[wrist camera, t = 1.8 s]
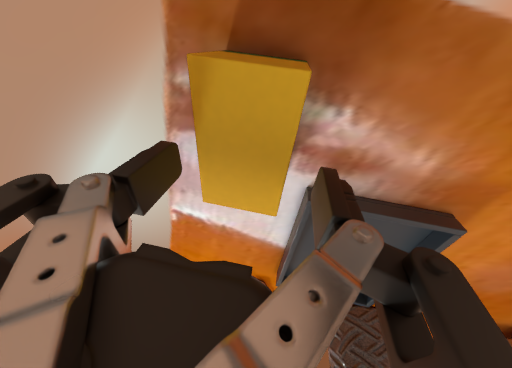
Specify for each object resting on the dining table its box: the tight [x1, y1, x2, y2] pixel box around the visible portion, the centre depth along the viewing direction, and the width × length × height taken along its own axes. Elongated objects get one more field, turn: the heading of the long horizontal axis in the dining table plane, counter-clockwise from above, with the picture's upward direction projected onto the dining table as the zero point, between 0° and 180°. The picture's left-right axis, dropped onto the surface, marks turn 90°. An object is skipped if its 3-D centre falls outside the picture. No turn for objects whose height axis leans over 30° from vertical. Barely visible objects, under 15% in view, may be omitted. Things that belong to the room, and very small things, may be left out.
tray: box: [276, 187, 467, 308], centre depth 22 cm, size 17×13×2 cm
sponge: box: [187, 50, 312, 216], centre depth 13 cm, size 9×6×6 cm, turn 174°
